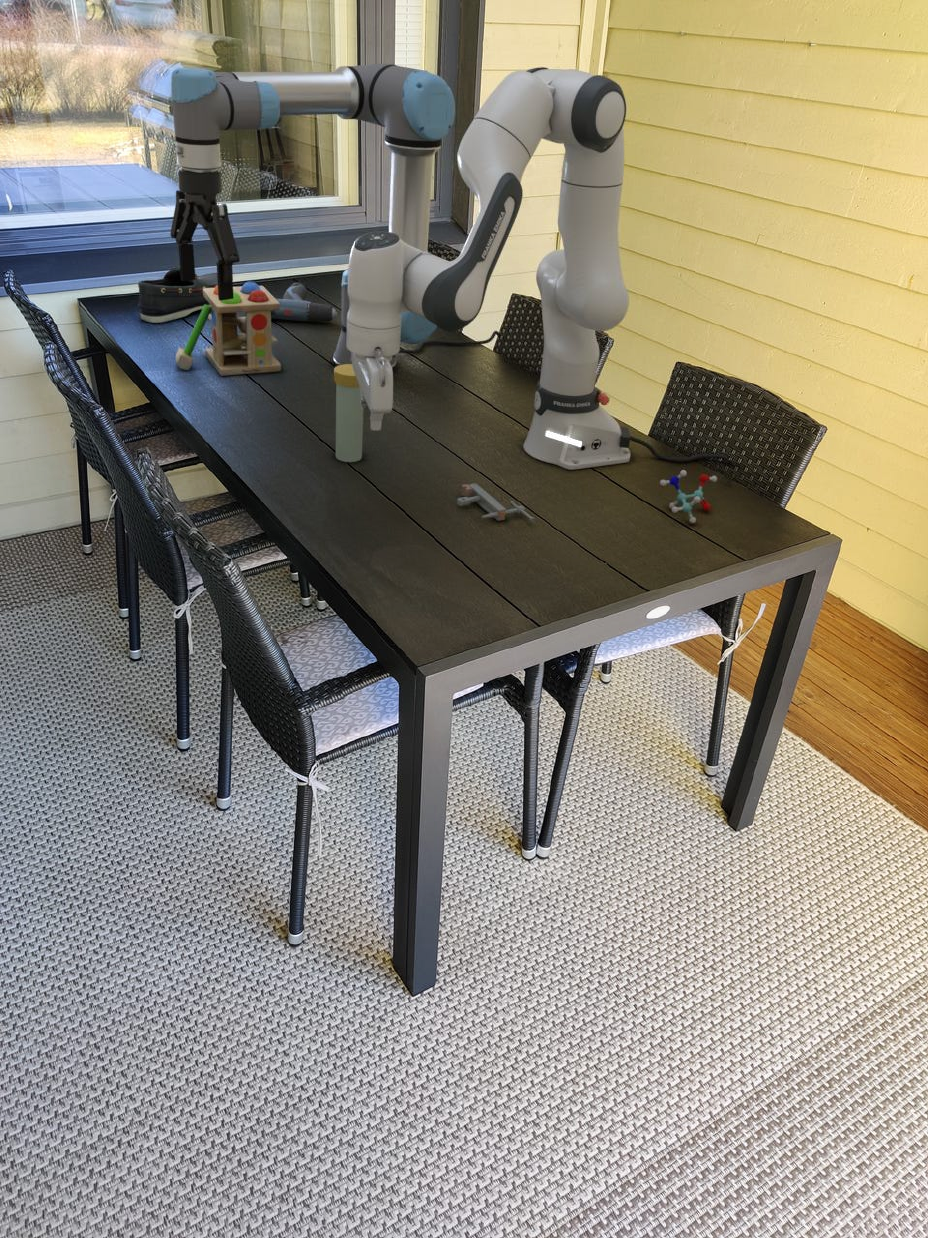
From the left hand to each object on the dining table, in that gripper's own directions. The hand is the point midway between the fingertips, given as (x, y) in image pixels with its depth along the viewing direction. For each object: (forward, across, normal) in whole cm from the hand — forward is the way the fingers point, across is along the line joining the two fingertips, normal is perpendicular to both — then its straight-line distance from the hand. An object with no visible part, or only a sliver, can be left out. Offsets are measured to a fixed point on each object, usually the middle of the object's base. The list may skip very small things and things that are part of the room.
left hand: (206, 289), depth 186 cm
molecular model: (+28, +80, +53) cm, 100 cm away
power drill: (+28, -53, +60) cm, 84 cm away
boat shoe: (+28, -71, +34) cm, 84 cm away
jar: (+28, +26, +15) cm, 41 cm away
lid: (+10, +26, +15) cm, 31 cm away
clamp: (+28, +59, +22) cm, 69 cm away
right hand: (+10, +45, +4) cm, 46 cm away
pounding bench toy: (+28, -29, +20) cm, 45 cm away
